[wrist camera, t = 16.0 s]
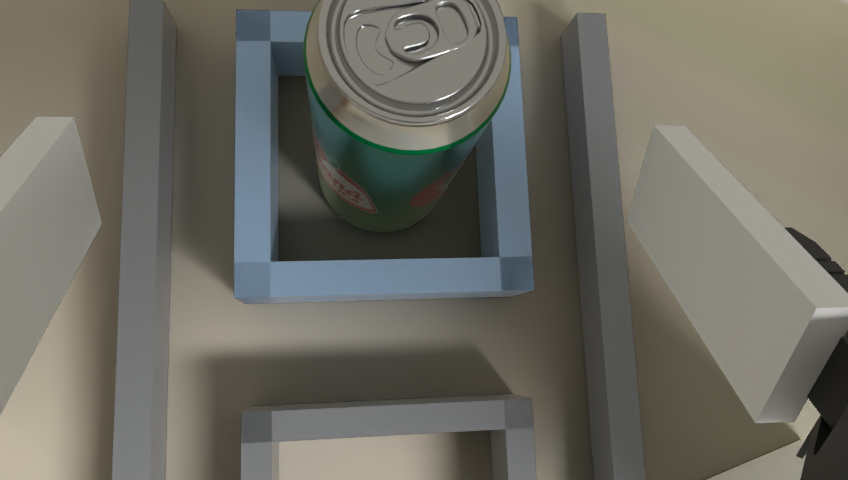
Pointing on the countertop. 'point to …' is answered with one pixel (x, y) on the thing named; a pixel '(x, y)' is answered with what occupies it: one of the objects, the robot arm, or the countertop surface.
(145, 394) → the grey railed frame
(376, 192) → the soda can
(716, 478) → the milk
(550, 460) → the countertop surface
